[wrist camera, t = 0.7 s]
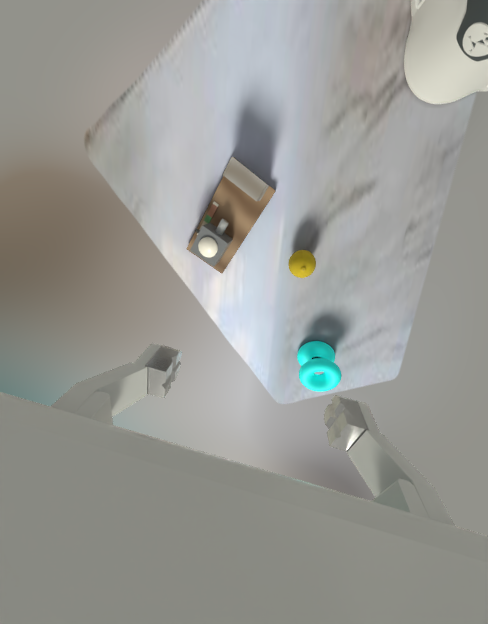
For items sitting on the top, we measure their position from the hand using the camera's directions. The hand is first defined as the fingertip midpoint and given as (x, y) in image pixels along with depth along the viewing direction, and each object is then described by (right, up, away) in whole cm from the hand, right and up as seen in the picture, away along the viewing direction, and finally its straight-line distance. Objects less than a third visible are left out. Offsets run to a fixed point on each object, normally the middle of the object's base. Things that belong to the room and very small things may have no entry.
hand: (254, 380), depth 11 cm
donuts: (+20, -8, +49) cm, 54 cm away
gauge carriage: (-7, +21, +36) cm, 42 cm away
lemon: (+12, +16, +37) cm, 43 cm away
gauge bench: (-4, +24, +36) cm, 43 cm away
